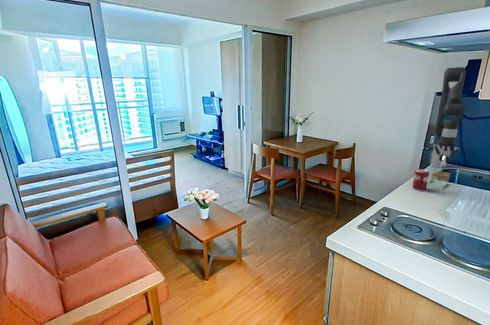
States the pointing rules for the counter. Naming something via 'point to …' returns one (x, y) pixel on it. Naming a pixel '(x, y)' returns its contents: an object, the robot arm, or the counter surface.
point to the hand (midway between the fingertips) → (443, 161)
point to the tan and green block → (441, 176)
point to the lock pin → (443, 161)
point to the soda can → (420, 179)
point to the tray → (437, 184)
